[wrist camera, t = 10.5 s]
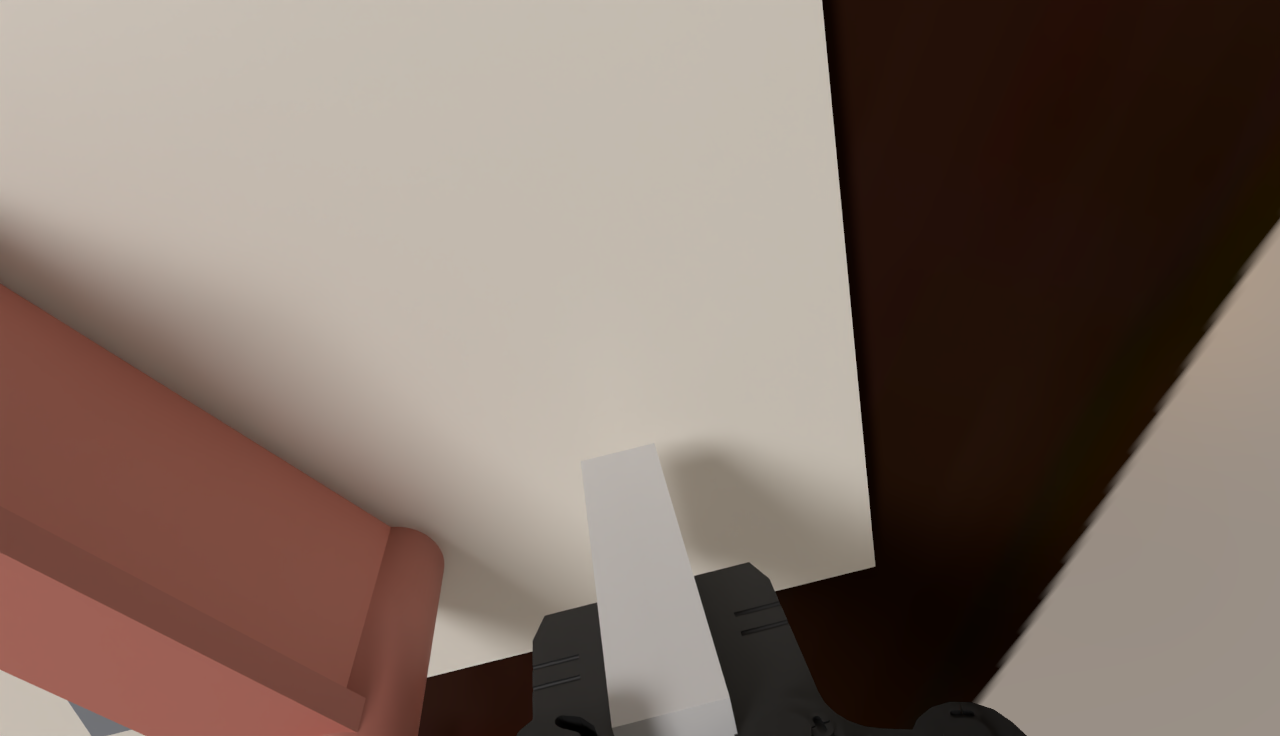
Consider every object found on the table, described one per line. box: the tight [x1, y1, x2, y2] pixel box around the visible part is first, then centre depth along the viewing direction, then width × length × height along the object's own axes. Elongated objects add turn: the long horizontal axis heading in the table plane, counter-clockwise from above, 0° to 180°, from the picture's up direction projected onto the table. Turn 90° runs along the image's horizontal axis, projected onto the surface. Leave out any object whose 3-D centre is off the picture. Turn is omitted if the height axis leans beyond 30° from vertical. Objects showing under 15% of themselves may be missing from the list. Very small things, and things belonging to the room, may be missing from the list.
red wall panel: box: [0, 284, 444, 736], centre depth 13 cm, size 11×2×6 cm, turn 47°
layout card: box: [0, 0, 875, 736], centre depth 16 cm, size 17×32×1 cm, turn 102°
